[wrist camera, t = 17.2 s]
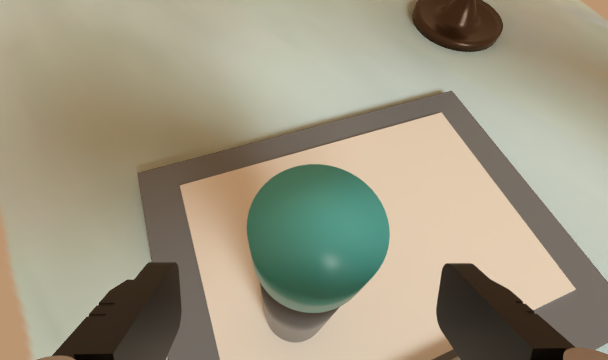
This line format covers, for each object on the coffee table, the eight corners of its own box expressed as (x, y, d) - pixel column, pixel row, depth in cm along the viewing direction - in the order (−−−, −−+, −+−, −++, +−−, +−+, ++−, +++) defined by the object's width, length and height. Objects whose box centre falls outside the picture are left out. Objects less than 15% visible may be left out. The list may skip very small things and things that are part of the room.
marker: (313, 268, 20) (352, 150, 10) (337, 329, 18) (416, 266, 8) (255, 289, 19) (230, 184, 9) (275, 355, 17) (273, 323, 7)
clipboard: (447, 97, 29) (458, 79, 28) (629, 325, 20) (661, 321, 19) (141, 179, 23) (130, 163, 22) (206, 558, 14) (195, 583, 12)
